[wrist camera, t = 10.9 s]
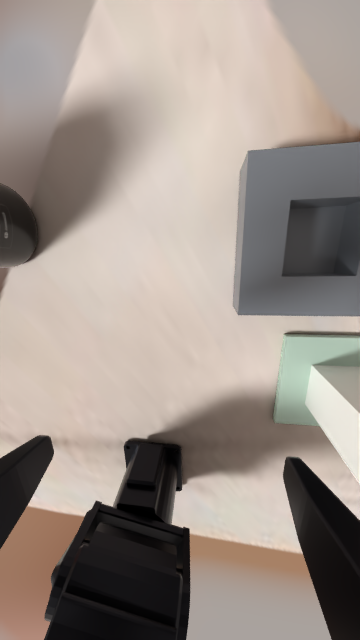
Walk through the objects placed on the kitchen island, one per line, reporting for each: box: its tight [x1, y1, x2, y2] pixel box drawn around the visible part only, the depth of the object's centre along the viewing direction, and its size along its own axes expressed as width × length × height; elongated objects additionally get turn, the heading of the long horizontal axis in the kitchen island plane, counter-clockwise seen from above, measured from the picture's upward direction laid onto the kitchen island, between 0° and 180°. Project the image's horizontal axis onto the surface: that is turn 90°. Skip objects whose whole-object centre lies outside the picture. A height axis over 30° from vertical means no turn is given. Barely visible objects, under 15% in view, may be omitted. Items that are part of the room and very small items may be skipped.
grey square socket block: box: [233, 142, 360, 316], centre depth 14 cm, size 10×10×3 cm
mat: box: [273, 334, 360, 426], centre depth 19 cm, size 9×9×1 cm
